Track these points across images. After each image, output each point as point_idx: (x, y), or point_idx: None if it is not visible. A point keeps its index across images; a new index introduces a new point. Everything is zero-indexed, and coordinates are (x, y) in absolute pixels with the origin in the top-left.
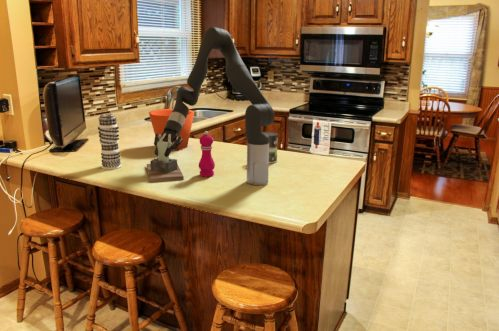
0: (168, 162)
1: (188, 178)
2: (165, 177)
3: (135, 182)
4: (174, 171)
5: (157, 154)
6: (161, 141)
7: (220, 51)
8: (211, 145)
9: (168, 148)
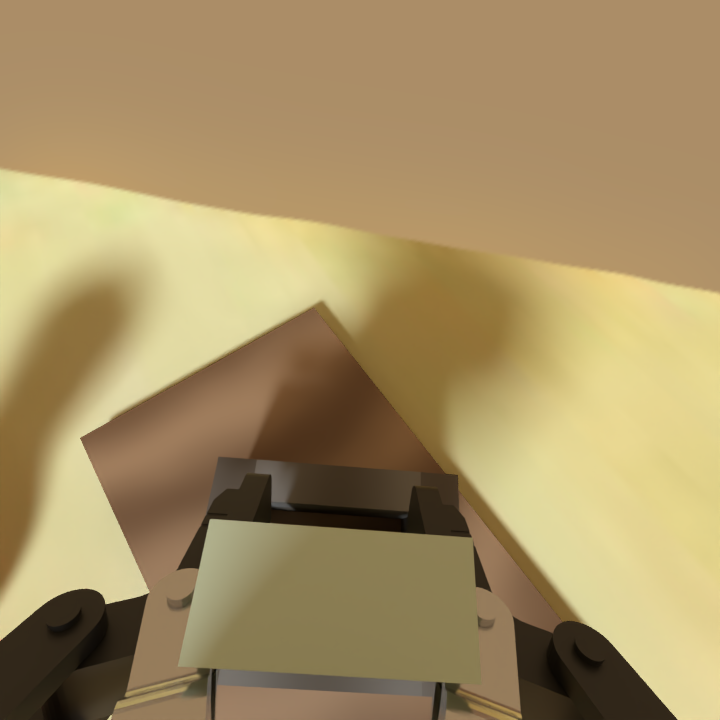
0: None
1: (60, 492)
2: (222, 364)
3: (400, 293)
4: None
5: (409, 527)
6: (405, 642)
7: None
8: None
9: None
